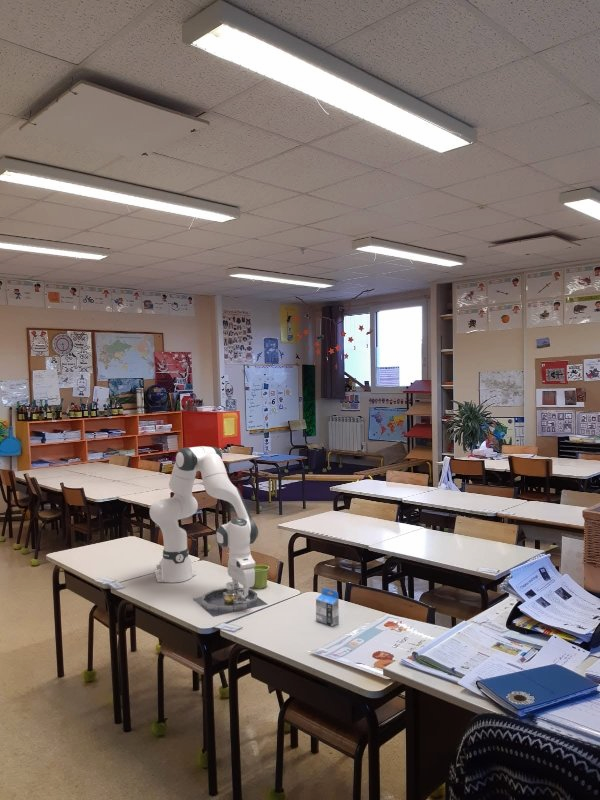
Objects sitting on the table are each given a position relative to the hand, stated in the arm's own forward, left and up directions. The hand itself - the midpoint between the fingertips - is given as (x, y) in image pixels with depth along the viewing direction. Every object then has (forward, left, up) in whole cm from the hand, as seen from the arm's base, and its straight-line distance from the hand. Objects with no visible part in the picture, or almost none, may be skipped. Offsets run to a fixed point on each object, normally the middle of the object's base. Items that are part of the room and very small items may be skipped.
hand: (240, 591), depth 247 cm
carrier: (-5, -3, -6) cm, 9 cm away
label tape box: (+34, +21, -6) cm, 40 cm away
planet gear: (0, 0, -5) cm, 5 cm away
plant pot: (-18, +17, -6) cm, 26 cm away
